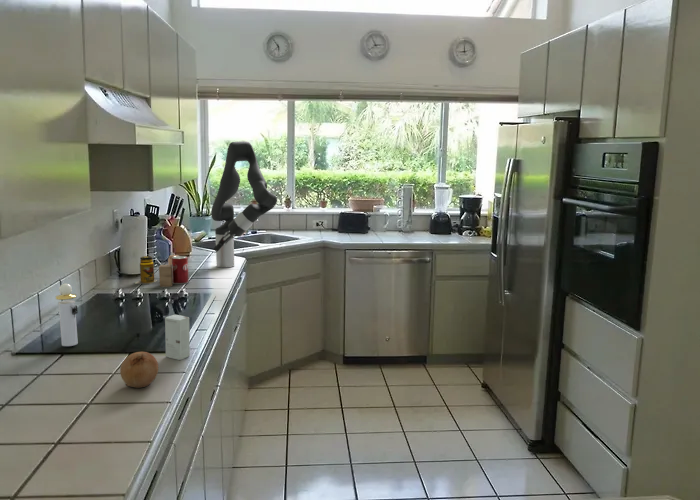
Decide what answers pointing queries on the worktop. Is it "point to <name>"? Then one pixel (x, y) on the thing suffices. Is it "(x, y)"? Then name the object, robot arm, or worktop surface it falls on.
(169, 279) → the block
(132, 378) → the onion
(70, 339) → the perfume bottle
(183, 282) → the soda can
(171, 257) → the tan rounded cylinder
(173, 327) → the skincare box
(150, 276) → the yellow coffee bottle can
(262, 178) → the robot arm
